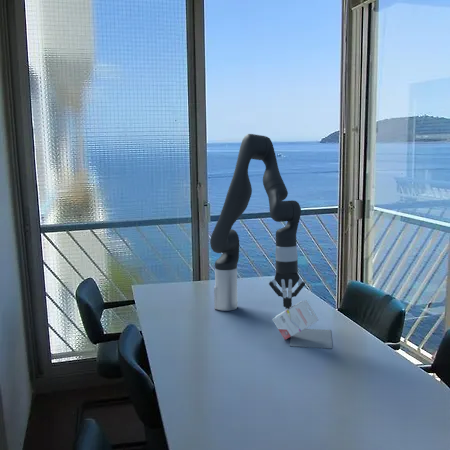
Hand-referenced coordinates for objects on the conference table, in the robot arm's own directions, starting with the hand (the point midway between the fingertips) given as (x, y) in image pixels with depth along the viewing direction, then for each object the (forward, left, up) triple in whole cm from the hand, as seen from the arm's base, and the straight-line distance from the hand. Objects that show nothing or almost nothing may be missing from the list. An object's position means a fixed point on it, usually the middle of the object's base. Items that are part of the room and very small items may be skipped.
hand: (287, 308), depth 173 cm
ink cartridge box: (-3, +1, -8) cm, 8 cm away
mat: (+8, +2, -11) cm, 14 cm away
